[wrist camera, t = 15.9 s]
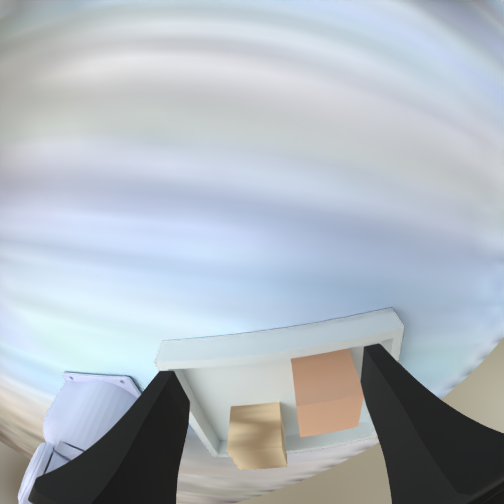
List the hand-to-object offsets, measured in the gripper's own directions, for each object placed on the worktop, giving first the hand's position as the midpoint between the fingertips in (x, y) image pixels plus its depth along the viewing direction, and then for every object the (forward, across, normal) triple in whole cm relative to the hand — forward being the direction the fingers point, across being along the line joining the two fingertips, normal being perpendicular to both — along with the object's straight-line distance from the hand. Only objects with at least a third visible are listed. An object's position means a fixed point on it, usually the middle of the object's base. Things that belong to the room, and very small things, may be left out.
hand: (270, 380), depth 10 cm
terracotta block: (+9, -3, +10) cm, 14 cm away
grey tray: (+9, 0, +13) cm, 16 cm away
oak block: (+9, +3, +16) cm, 18 cm away
